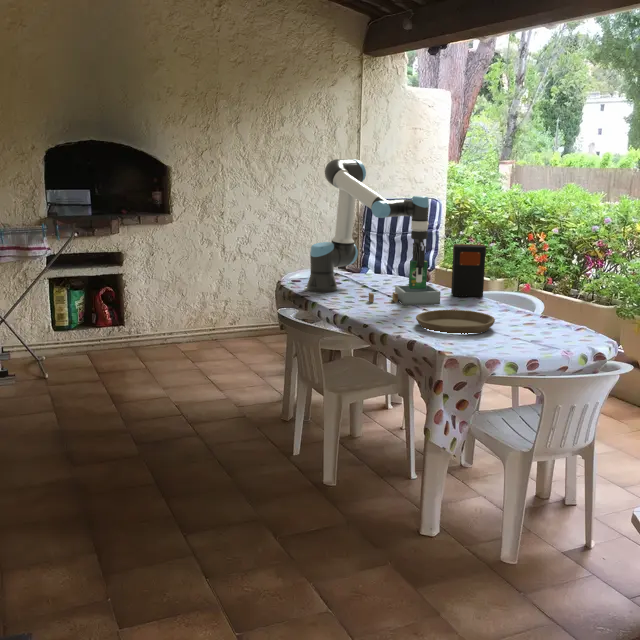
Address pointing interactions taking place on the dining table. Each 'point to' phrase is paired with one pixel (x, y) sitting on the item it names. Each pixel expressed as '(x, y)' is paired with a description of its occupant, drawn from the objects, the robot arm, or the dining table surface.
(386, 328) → the dining table surface
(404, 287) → the slate bin
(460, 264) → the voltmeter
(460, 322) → the plant saucer
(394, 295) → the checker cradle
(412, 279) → the coffee box
